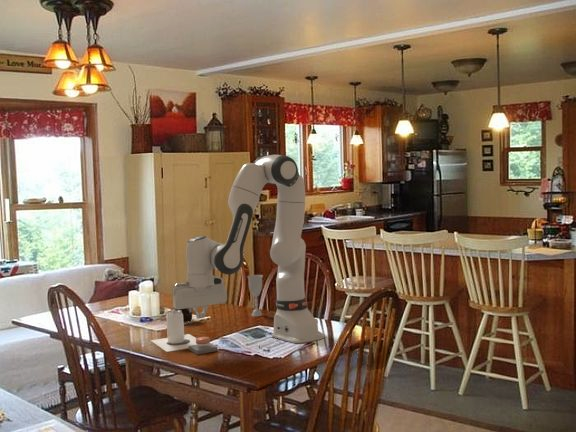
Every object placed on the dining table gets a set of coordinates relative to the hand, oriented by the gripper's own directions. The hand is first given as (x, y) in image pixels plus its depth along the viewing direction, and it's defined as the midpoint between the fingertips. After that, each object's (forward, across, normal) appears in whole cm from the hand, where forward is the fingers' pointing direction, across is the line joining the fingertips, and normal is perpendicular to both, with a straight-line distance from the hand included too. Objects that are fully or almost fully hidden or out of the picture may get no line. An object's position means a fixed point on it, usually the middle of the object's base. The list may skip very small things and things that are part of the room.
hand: (201, 317), depth 234 cm
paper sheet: (+12, -4, +16) cm, 20 cm away
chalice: (+12, +42, +40) cm, 59 cm away
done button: (+9, 0, 0) cm, 9 cm away
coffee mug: (+13, +13, +52) cm, 55 cm away
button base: (+12, 0, 0) cm, 12 cm away
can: (+12, -4, +16) cm, 21 cm away
